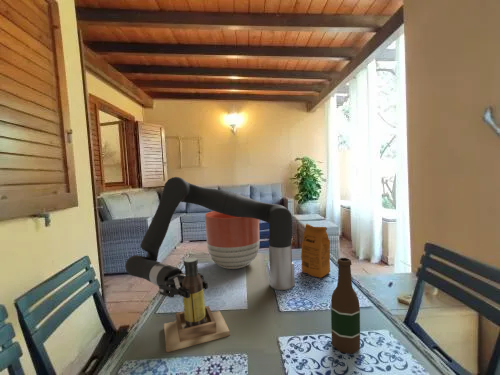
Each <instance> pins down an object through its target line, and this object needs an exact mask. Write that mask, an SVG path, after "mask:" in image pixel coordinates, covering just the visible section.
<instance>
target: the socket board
mask: <svg viewBox="0 0 500 375" xmlns="http://www.w3.org/2000/svg"><path fill="white" fill-rule="evenodd" d="M205 318H206V319H205V322H204V324H201V325H196V326H192V327H188V326H187V325H186V320H185V314H184V310H183V311H180V312H176V313H175V320H174V321H171V322H165V323H163V329H164V330H163V331H164V332H163V333H164V339H165V340H164V341H165V351H166V353H167V354H168V353H170V352H174V351H177V350H178V351H179V350H180V349H185V348H188V347H192V346H195V345H200V344H204V343H207V342H211V341H215V340H218V339H222V338H225V337H229V336H230V335H231V331H230V329H229V327H228V325H227V322H226V321H225V319H224V316H223V315H222V313H221V310H217V311H213V312H212V311H211V308H210V306H209V305H205Z"/></svg>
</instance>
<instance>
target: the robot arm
mask: <svg viewBox="0 0 500 375" xmlns="http://www.w3.org/2000/svg"><path fill="white" fill-rule="evenodd" d="M159 200H160V201H159V203H158V206H157V208H156V211H155V214H154V216H153V217H152V220H151V222H150V224H149V226H148V228H147V230H146V232H145V233H144V236H143V238H142V240H141V243H140V248H141V250H142V251H144V252H147V254H146V256H143V255H138V254H134V255H132V256H130V257H129V258H127V259H126V262H125V266H124V267H125V271H126V273H127V274H128V275H130V276H133V277H137V278H140V279H143V280H146V281H147V282H150V283H152V284H153V285H154V286H156V287H158V289H159V290H158V292H159V293H158V294H159V295H161V296H165V297H166V298H171V299H172V298H174V297H175V296H177V297H178V296H179V297H182V298H183V297H185V298H189V297H190V291H189V290H188V289H185V288H183V287H182V282H183V279H184V277H185V273H183V271H182V270H181V269H180V268H178V267H176V266H173V265H170V264H168V263H163V262H161V261H158V257H159V252H160V248H161V247H162V244H163V242H164V240H165V238H166V235H167V232H168V230H169V226H170V224H171V220H172V218H173V215H174V214H175V211H176V210H177V208H178V206H179V204H180V203H187V204H192V205H197V206H200V207H204V208H206V209H207V210H211V211H216V212H219V213H223V214H226V215H230V216H235V217H248V218H255V219H259V221H262V222H265V223H267V224H269V225H268V227H269V231H268V232H269V238H268V254H269V256H268V257H269V259H268V260H269V283H270V284H269V286H270V287H271V288H272V289H273V290H277V291H284V290H289V289H292V287H295V286H296V284H295V283H296V282H295V279H296V278H295V263H294V262H293V257H292V256H293V253H292V252H293V251H292V250H293V249H292V248H293V247H292V245H293V244H292V242H293V217H292V216H293V215H292V213H291V210H289V209H288V208H287V207H286V206H283V205H281V204H276V203H268V202H263V201H259V200H256V199H253V198H251V197H248V196H245V195H242V194H240V193H235V192H231V191H228V190H223V189H217V188H208V187H207V188H206V187H202V186H199V185H195V184H193V183H190V182H188V181H186V180H185V179H184V178H181V177H178V176H175V177H174V176H173V177H170V178H169V179H168V180H167V181H166V182H165V183H164V186H163V190H162V193H161V197H160V199H159ZM198 274H199V275H200V277H201V278H202V281H203V289H204V290H208V289H209V283H208V281H207V280H204V279H205V278H204V277H205V276H204V274H202V273H200V272H198Z"/></svg>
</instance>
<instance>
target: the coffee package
mask: <svg viewBox="0 0 500 375" xmlns="http://www.w3.org/2000/svg"><path fill="white" fill-rule="evenodd" d="M327 230H328V228H327V227H326V226H314V225H311V224H308V223H306V224H305V228H304V231H303V236H302V241H301V256H300V257H301V258H300V259H301V273H304V274H308V275H309V276H310V277H314V278H318V279H319V278H323V277H325V276H326V275H328V274H330V272H331V263H330V262H331V261H330V260H331V241H330V238H329V236H328V233H327Z"/></svg>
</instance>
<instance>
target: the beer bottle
mask: <svg viewBox="0 0 500 375" xmlns="http://www.w3.org/2000/svg"><path fill="white" fill-rule="evenodd" d="M336 264H337V265H338V268H337V285H336V287H335V289H334V290H333V292H332V294H331V300H330V301H331V302H330V306H331V307H330V315H331V316H330V320H331V322H330V323H331V345H332V347H334V348H335V349H336V350H337V351H338V352H340V353H344V354H345V353H346V354H350V355H352V354H355V353H357V352H358V351H360V350H361V308H360V302H359V297H358V294H357V292H356V291H355V290H354V288H353V282H352V269H351V266H352V264H353V263H352V259H351V258H348V257H340V258H338V259H337V263H336Z"/></svg>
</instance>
